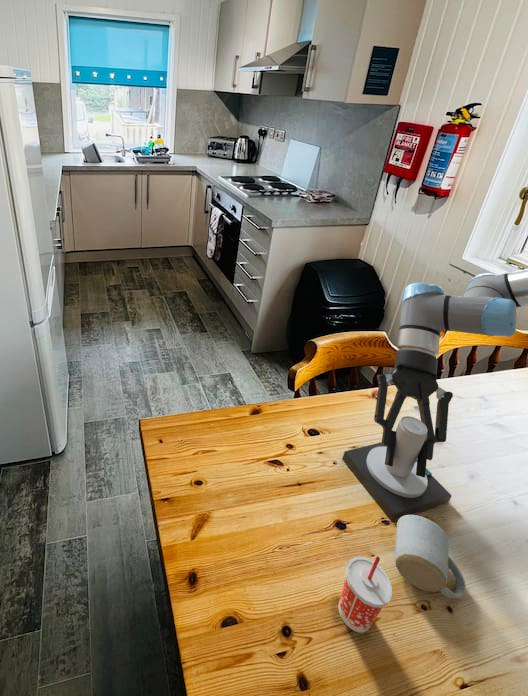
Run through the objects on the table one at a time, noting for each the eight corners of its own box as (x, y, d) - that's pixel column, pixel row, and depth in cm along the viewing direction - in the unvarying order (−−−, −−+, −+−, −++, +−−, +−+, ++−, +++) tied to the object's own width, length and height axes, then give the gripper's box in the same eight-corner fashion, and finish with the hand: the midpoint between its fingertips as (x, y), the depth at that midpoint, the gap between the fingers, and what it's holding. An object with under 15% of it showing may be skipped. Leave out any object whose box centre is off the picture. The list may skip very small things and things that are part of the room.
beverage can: (396, 456, 84) (412, 413, 79) (415, 475, 80) (434, 432, 75) (378, 461, 82) (394, 418, 78) (397, 482, 78) (415, 437, 73)
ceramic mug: (388, 575, 66) (402, 547, 63) (391, 532, 72) (404, 505, 69) (464, 618, 61) (483, 590, 58) (460, 568, 67) (477, 540, 64)
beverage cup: (384, 621, 60) (411, 566, 54) (360, 649, 57) (387, 593, 51) (348, 582, 65) (370, 527, 59) (324, 605, 61) (345, 550, 56)
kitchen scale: (448, 503, 78) (453, 492, 77) (391, 521, 74) (396, 509, 73) (392, 446, 90) (397, 435, 89) (341, 459, 86) (345, 447, 85)
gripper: (458, 368, 84) (449, 486, 77) (367, 345, 90) (351, 453, 83) (474, 363, 77) (466, 491, 70) (374, 338, 83) (358, 454, 76)
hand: (404, 470), depth 76 cm, fingers closed on beverage can, 5 cm apart
